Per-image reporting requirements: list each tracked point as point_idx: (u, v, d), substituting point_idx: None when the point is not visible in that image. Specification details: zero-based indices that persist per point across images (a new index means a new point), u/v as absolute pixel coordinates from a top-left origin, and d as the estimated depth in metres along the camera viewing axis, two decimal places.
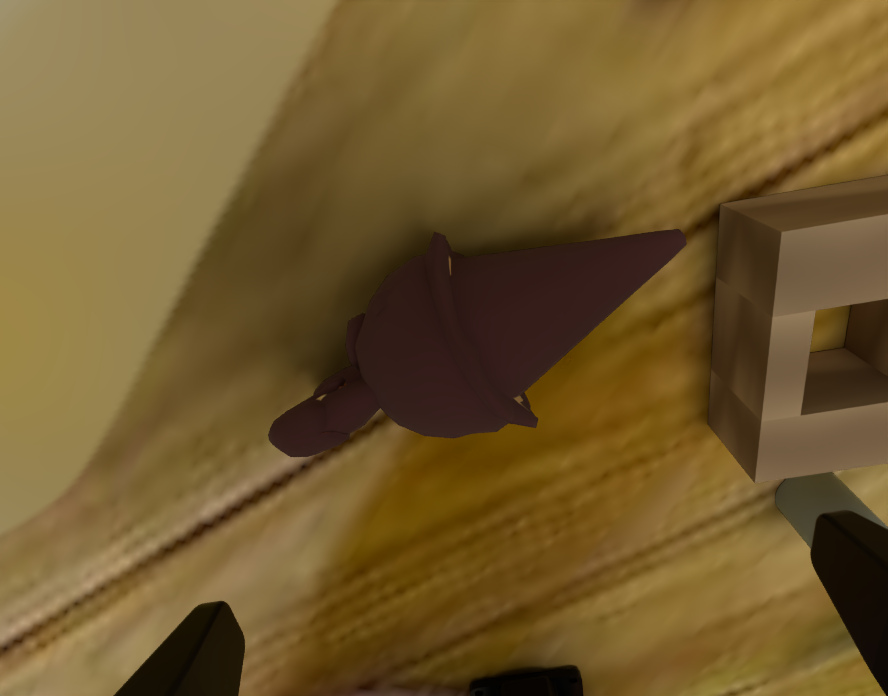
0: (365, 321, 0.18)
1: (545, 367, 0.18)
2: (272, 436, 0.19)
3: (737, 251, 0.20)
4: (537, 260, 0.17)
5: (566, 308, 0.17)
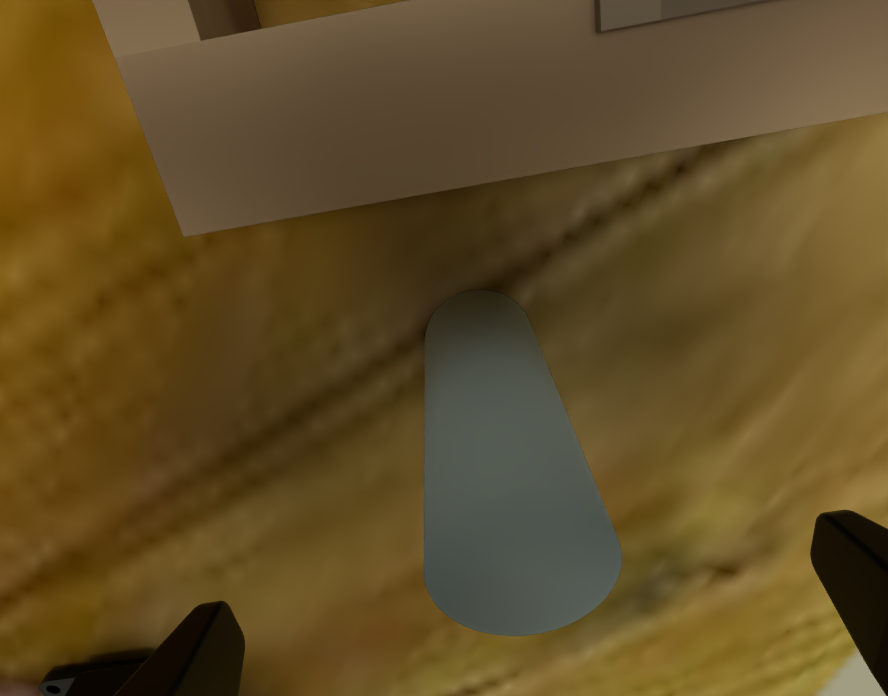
0: None
1: None
2: None
3: None
4: None
5: None
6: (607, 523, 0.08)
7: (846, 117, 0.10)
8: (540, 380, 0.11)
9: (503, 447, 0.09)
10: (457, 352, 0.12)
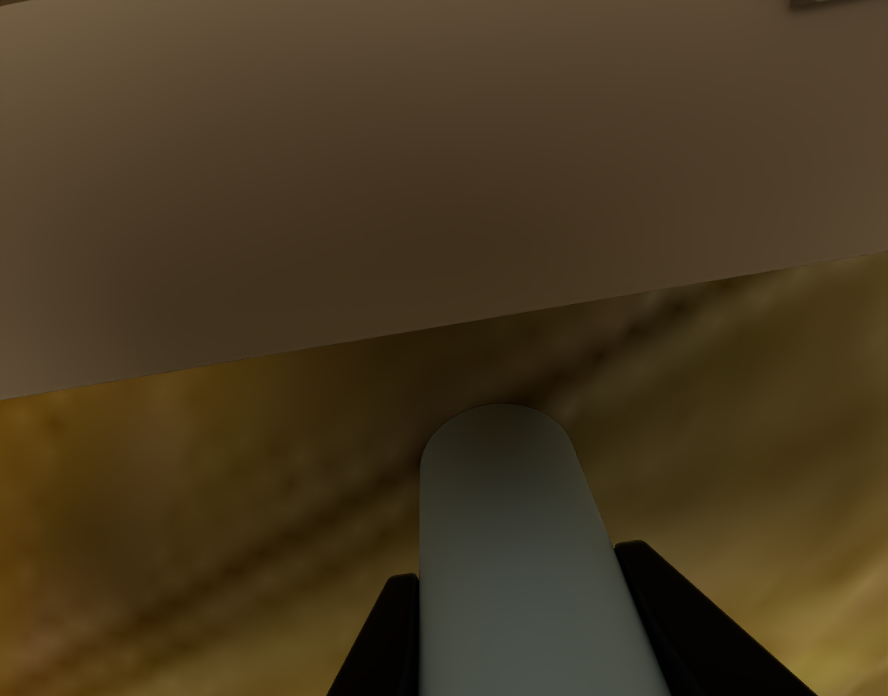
0: None
1: None
2: None
3: None
4: None
5: None
6: None
7: None
8: (621, 630, 0.06)
9: None
10: (473, 550, 0.07)
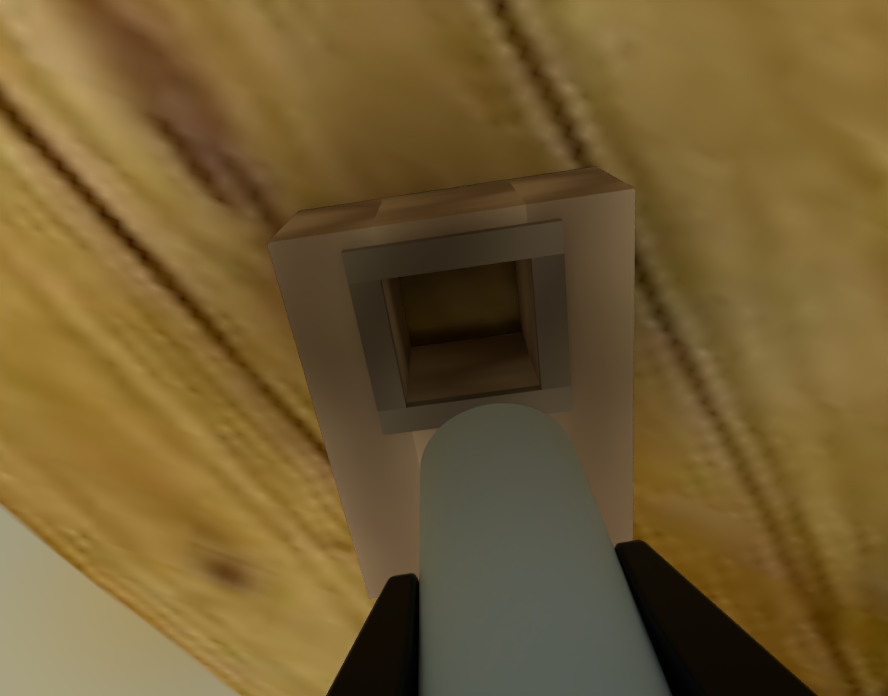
0: None
1: None
2: None
3: None
4: None
5: None
6: None
7: (633, 271, 0.16)
8: (623, 631, 0.06)
9: None
10: (474, 550, 0.07)
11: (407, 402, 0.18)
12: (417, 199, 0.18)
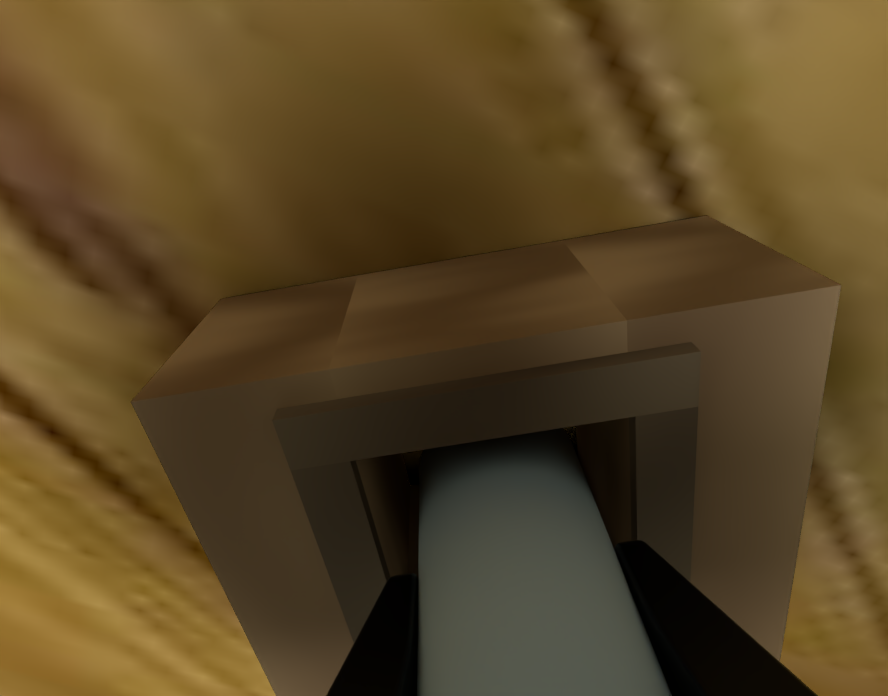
0: None
1: None
2: None
3: None
4: None
5: None
6: None
7: (815, 424, 0.09)
8: (622, 631, 0.06)
9: None
10: (473, 550, 0.07)
11: None
12: (414, 283, 0.10)
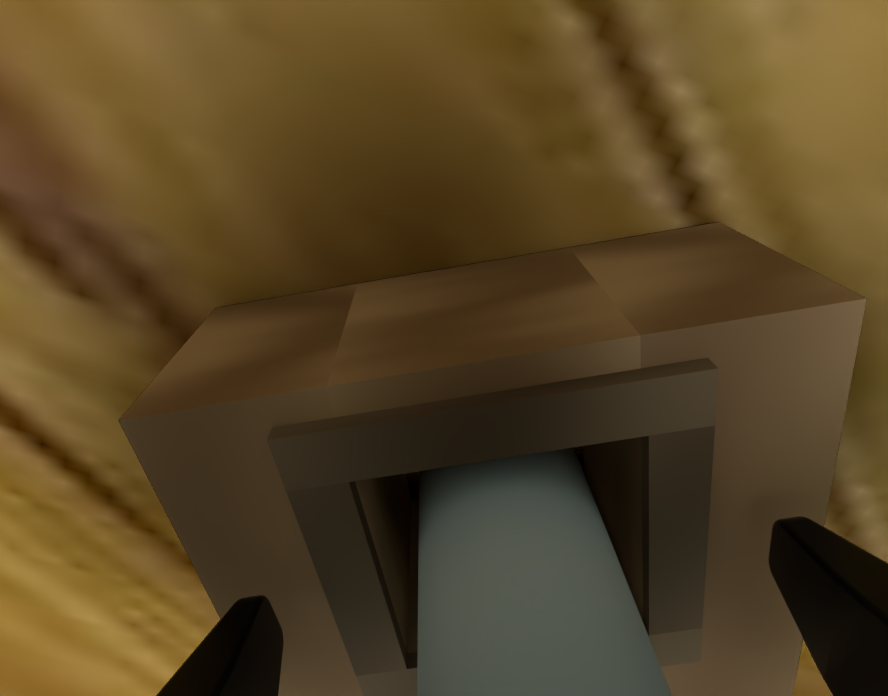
0: None
1: None
2: None
3: None
4: None
5: None
6: None
7: (836, 443, 0.08)
8: (578, 506, 0.08)
9: (538, 663, 0.06)
10: None
11: (408, 653, 0.10)
12: (416, 293, 0.10)
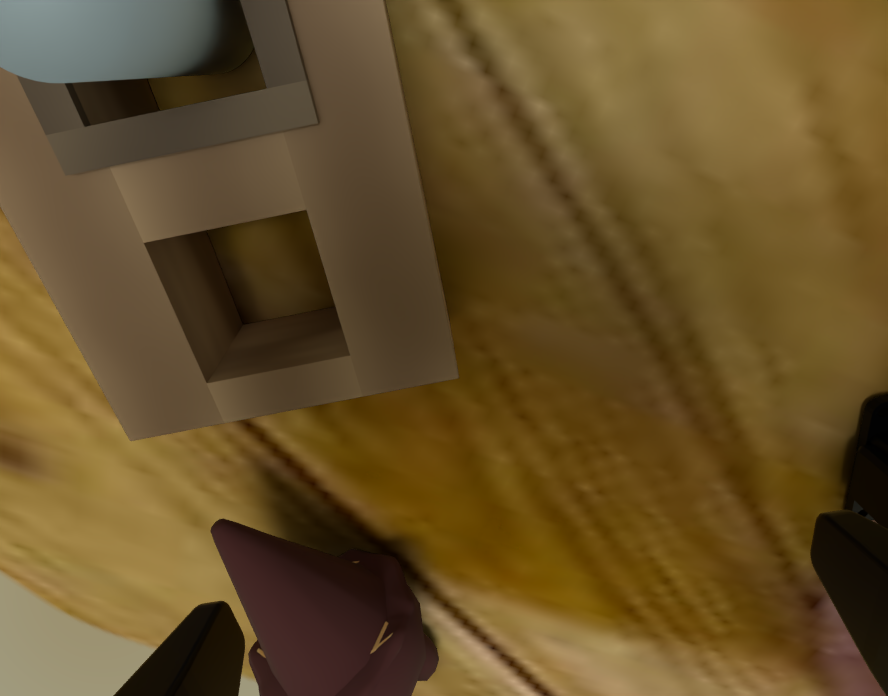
0: None
1: (335, 640, 0.20)
2: None
3: None
4: (251, 622, 0.21)
5: (277, 630, 0.19)
6: None
7: None
8: None
9: None
10: None
11: (92, 125, 0.13)
12: None
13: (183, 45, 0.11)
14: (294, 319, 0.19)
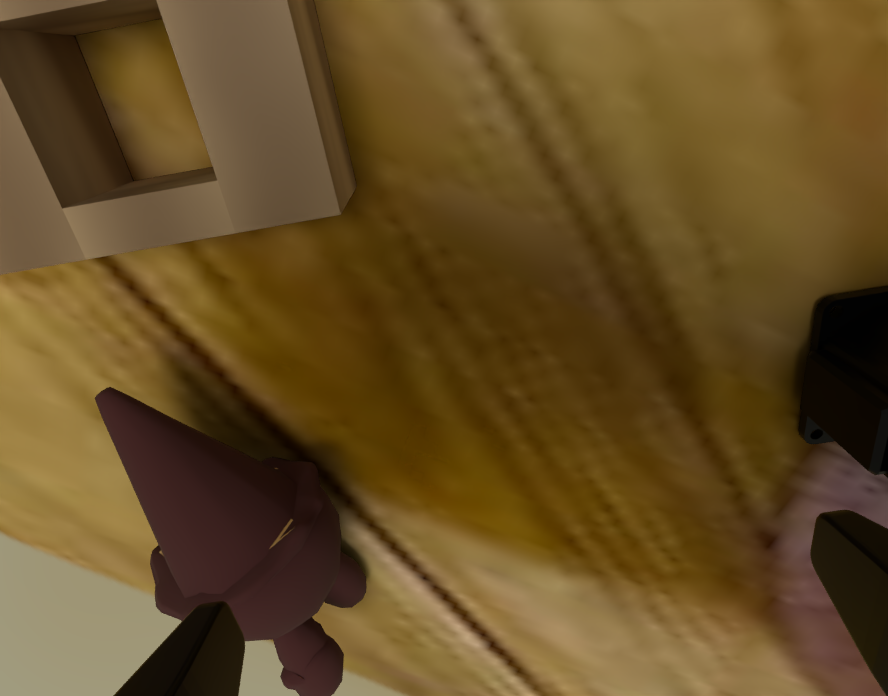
0: None
1: (230, 528, 0.18)
2: None
3: None
4: (144, 510, 0.19)
5: (166, 513, 0.18)
6: None
7: None
8: None
9: None
10: None
11: None
12: None
13: None
14: (185, 173, 0.18)
